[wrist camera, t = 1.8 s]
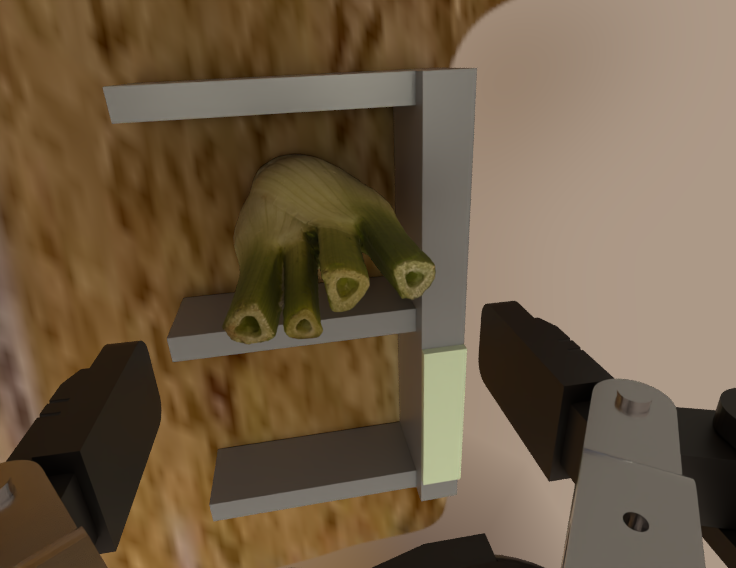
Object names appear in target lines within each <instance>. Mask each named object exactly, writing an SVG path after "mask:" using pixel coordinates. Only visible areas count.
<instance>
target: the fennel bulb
mask: <svg viewBox="0 0 736 568" xmlns="http://www.w3.org/2000/svg"><path fill="white" fill-rule="evenodd" d="M234 248H235V251H236V255H237V258H238V262H239V265H240V277H239V280H238V284H237V287H236V291H235V294H234V297H233V300H232V302H231V305H230V308H229V311H228V313H227V315H226V318H225V320H224V323H223V326H222V328H223V329H224V330H225V331H226V333H227V335H228V336H229V337H230V339H231V340H233V341H236V342H240V343H244V344H248V345H250V344H251V343H252V344H253V343H262V342H265V341H269V340H271V339H273V338H274V337H275V336H276V333H277V329H278V324H279V319H280V315H281V312H282V305H283V304H284V309H283V317H284V321H283V327H284V332H285V333H286V335H288V336H289V337H290V338H295V339H309V338H317V337H319V336H320V335H321V334H322V332H323V327H322V325H321V318H320V309H319V297H318V296H319V294H318V289H319V288H318V276H317V274H318V269H320V271H321V277H322V280H323V281H324V283H325V289H326V293H327V297H328V302H329V307H330V308H331V310H332V311H334V312H343V311H348V310H350V309H352V308H353V307H354V306H355V305H356V304H357V303H358V302H359V301H360V300H361V298H362V297H363V296H364V295H365V293H366V291H367V290H368V288H369V286H370V280H369V276H368V271H367V269H366V265H365V264H364V260H363V255H362V252H363V253H365V254H367V255H368V256H369V257H370V258H371V260H372V261H373V262H374V263H375V265H376V266H377V268H378V269H379V270H380V272H381V273H382V275H383V276H384V277H385V278H386V279H387V280H388V282H389V283H390V284H391V285H392V286H393V287H394V289H395V290H396V291H397V293H398V294H399V296H400V297H401V298H402V299H404V298H408V299H411V300H414V299H416V298H418V297H420V296H422V295H423V293H424V292H425V290H427V289H428V288H429V287H430V286H431V284H432V282H433V280H434V279H435V274H436V269H435V264H434V263H433V262H432V260H431V259H430V257H428V256H427V254H425V253H424V252H423V251H422V250H421V249H420V248H419V247H418V246H417V245H416V243H415V242H414V241H413V240H412V239H411V238H410V237H409V236H408V235H407V234H406V232H405V230H404V229H403V227H402V226H401V224H400V223H399V221H398V219H397V217H396V215H395V213H394V210H393V209H392V207H391V205H390V204H389V203H388V202H387V201H386V200H385V199H384V198H383V197H382V196H381V195H379V194H378V193H377V192H376V191H374V190H373V189H372V188H370V187H368V186H366V185H365V184H362V183H361V182H360V181H359V180H357V179H356V178H354V177H353V176H351V175H350V174H348V173H347V172H345V171H344V170H342V169H340V168H338V167H336V166H334V165H333V164H330V163H328V162H326V161H324V160H322V159H319V158H316V157H312V156H306V155H302V154H291V155H285V156H280V157H277V158H275V159H273V160H271V161H270V162H268V163H266V164H265V165H263V166H262V167H261V168H260V169H259V170H258V172H257V174H256V175H255V177H254V179H253V183H252V187H251V191H250V194H249V196H248V198H247V200H246V201H245V203H244V204H243V207H242V209H241V211H240V214H239V217H238V220H237V223H236V226H235V231H234Z"/></svg>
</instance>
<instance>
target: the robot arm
mask: <svg viewBox="0 0 736 568" xmlns="http://www.w3.org/2000/svg"><path fill="white" fill-rule="evenodd" d="M479 369H480V374H481V377H482V380H483V382H484V383H485V385H486V387H487V388H488V390H489V391H490V393H491V394H492V396H493V397H494V399H495V400H496V402H497V403H498V405H499V406H500V408H501V409H502V411H503V412H504V414H505V415H506V417H507V418H508V420H509V422H510V423H511V424H512V426H513V428H514V429H515V431H516V432H517V433H518V435H519V437H520V438H521V440H522V441H523V443H524V444H525V446H526V447H527V449H528V450H529V452H530V453H531V455H532V456H533V458H534V459H535V461H536V462H537V464H538V465H539V467H540V468H541V470H542V471H543V473H544V474H545V476H546V477H547V479H548V481H556V480H562V479H568V478H571V479H572V481H573V482H574V483H575V489H574V493H573V499H572V505H571V511H570V517H569V523H568V529H567V535H566V540H565V546H564V552H563V559H562V564H561V568H706V567H705V558H704V550H703V542H702V537H703V538H704V540H705V541H706V542H707V543H708V544H709V546H710V547H711V548H712V549H713V550H714V551H715V553H716V554H717V555H718V556H719V557H720V559H721V560H722V561H723V562H724V563H725V565H726V566H727V567H728V568H736V388H733V389H729V390H726V391H724V392H723V393H722V394H721V396H720V400H719V402H718V406H717V409H716V410H704V409H692V408H679V407H676V406H675V405H674V403H673V402H672V400H671V399H670V398H669V397H668V396H667V395H665V394H664V393H662V392H661V391H659V390H658V389H656V388H654V387H652V386H649V385H647V384H644V383H641V382H637V381H634V380H628V379H614V378H613V377H612V376H611V375H610V374H609V373H608V372H607V371H606V370H604V369H603V368H602V367H601V366H600V365H599V364H598V363H597V362H596V361H595V360H593V359H592V358H591V357H590V356H589V355H588V354H587V353H586V352H585V351H583V350H581V349H580V347H579V346H578V345H577V344H576V343H575V342H574V341H570V338H569V337H568V336H567V335H566V334H565V333H564V332H563V331H561V330H560V329H559V328H558V327H557V326H555V325H553V324H551V323H548V322H547V321H545V320H542V319H540V318H534V317H533V316H532V315H530V314H529V313H528V312H527V311H526V310H525V309H524V308H523V307H522V306H521V305H520V304H519V303H518V302H516V301H508V302H499V303H491V304H485V305H484V307H483V309H482V315H481V329H480V344H479ZM49 401H50V403H49V404H47V405H46V406H45V407H44V409H43V410H42V412H41V413H40V418H37V419H36V420H35V422H34V423H33V424H32V426H31V427H30V429H29V430H28V431H27V433H26V434H25V436H24V437H23V438H22V440H21V441H20V443H19V444H18V445H17V447H16V448H15V450H14V451H13V452H12V454H11V455H10V457H9V458H8V459H7V461H6V462H4V463H0V568H108V567H107V566H106V564H105V562H104V561H103V559H102V557H101V556H100V554H102V553H109V552H115V551H116V549H117V547H118V544H119V541H120V538H121V535H122V532H123V529H124V526H125V524H126V521H127V518H128V515H129V512H130V509H131V506H132V503H133V500H134V498H135V495H136V492H137V489H138V486H139V483H140V480H141V477H142V475H143V472H144V469H145V466H146V463H147V460H148V457H149V454H150V451H151V449H152V446H153V443H154V440H155V437H156V434H157V431H158V428H159V425H160V421H161V400H160V395H159V391H158V388H157V384H156V380H155V376H154V372H153V368H152V364H151V360H150V356H149V352H148V349H147V346H146V344H145V343H144V342H143V341H134V342H124V343H115V344H107V345H105V346H104V347H103V349H102V350H101V352H100V353H99V355H98V356H97V358H96V359H95V361H94V362H93V364H92V365H91V367H90V368H87V369H81V370H79V371H78V372H77V373H75V374H74V375H73V376H71V377H70V378H69V379H67V380H66V381H65V382H63V383H62V384H61V385H60V386H59V388H58V389H57V391H56V392H55V393H54V395H53V396H52V398H51V399H50V400H49ZM373 568H544V567H542V566H539V565H537V564H534V563H532V562H528V561H525V560H522V559H518V558H514V557H509V556H503V555H494V553H493V551H492V548H491V546H490V544H489V542H488V539H487V537H486V535H485V534H478V535H473V536H467V537H461V538H455V539H450V540H444V541H438V542H433V543H427V544H423V545H421V546H419V547H416V548H414V549H412V550H410V551H408V552H405V553H403V554H401V555H399V556H397V557H395V558H392V559H390V560H388V561H386V562H383V563H381V564H379V565H377V566H375V567H373Z"/></svg>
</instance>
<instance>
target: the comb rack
mask: <svg viewBox="0 0 736 568" xmlns="http://www.w3.org/2000/svg"><path fill="white" fill-rule="evenodd" d="M476 76H477V68H422V69H402V70H383V71H363V72H343V73H324V74H304V75H284V76H265V77H245V78H226V79H206V80H186V81H167V82H147V83H131V84H123V85H114V86H106V87H103V91H104V95H105V99H106V103H107V106H108V110H109V114H110V118H111V122H112V124H115V123H131V122H147V121H164V120H180V119H196V118H213V117H229V116H245V115H261V114H278V113H294V112H310V111H327V110H343V109H359V108H376V107H392V106H393V112H394V162H395V211H396V217H397V219H398V221H399V223H400V224H401V226H402V227H403V229H404V230H405V232H406V234H407V235H408V236H409V237H410V238H411V239H412V240H413V241H414V242H415V243H416V245H417V246H418V247H419V248H420V249H421V250H422V251H423V252H424V253H425V254H427V256H428V257H430V259H431V260H432V262H433V263H434V264H435V269H436V274H435V279H434V280H433V282H432V284H431V286H430V287H429V288H428V289H427V290H425V292H424V293H423V295H422V296H420V297H418V298H416V299H414V300H411V299H408V298H404V299H402V298H401V297H400V296H399V294H398V293H397V291H396V290H395V289H394V287H393V286H392V285H391V284H390V283H389V282H388V280H387V279H386V278H385V277H384V276H380V277H371V278H369V280H370V286H369V288H368V290H367V291H366V293H365V295H364V296H363V297H362V298H361V300H360V301H359V302H358V303H357V304H356V305H355V306H354V307H353V308H352V309H350V310H348V311H343V312H334V311H332V310H331V308H330V307H329V302H328V297H327V293H326V289H325V283H318V288H319V289H318V294H319V296H318V297H319V309H320V318H321V325H322V327H323V332H322V334H321V335H320V336H319V337H317V338H309V339H295V338H290V337H289V336H288V335H286V333H285V332H284V327H283V321H284V317H283V309H284V304H283V305H282V312H281V315H280V319H279V324H278V329H277V333H276V336H275V337H274V338H273V339H271V340H269V341H265V342H262V343H253V344H252V343H251V344H250V345H248V344H244V343H240V342H236V341H233V340H231V339H230V337H229V336H228V335H227V333H226V331H225V330H224V329H223V328H222V326H223V323H224V320H225V318H226V315H227V313H228V311H229V308H230V305H231V302H232V300H233V297H234V294H235V292H234V293H225V294H216V295H207V296H198V297H189V298H183V300H182V303H181V305H180V308H179V310H178V313H177V315H176V317H175V320H174V322H173V325H172V327H171V330H170V332H169V335H168V337H167V341H168V345H169V349H170V353H171V357H172V361H173V362H177V361H185V360H193V359H201V358H209V357H217V356H225V355H232V354H240V353H248V352H256V351H264V350H272V349H280V348H288V347H296V346H304V345H311V344H319V343H327V342H335V341H343V340H351V339H359V338H367V337H375V336H383V335H390V334H398V359H399V408H400V422H395V423H389V424H382V425H376V426H369V427H362V428H356V429H349V430H343V431H336V432H330V433H323V434H316V435H310V436H303V437H297V438H290V439H283V440H277V441H270V442H264V443H257V444H251V445H244V446H237V447H231V448H224V449H218V453H217V460H216V466H215V472H214V479H213V485H212V492H211V498H210V504H209V505H210V509H211V513H212V517H213V521H218V520H224V519H230V518H235V517H241V516H247V515H253V514H259V513H265V512H270V511H276V510H282V509H288V508H294V507H300V506H305V505H311V504H317V503H323V502H329V501H335V500H340V499H346V498H352V497H358V496H364V495H370V494H376V493H381V492H387V491H393V490H399V489H405V488H411V487H417V490H418V493H419V496H420V499H421V501H425V500H430V499H436V498H442V497H447V496H453V495H457V480H458V479H460V478H461V458H462V438H463V419H464V397H465V378H466V359H467V358H466V357H467V348H466V347H465V345H464V333H465V310H466V290H467V269H468V268H467V267H468V246H469V226H470V225H469V224H470V205H471V183H472V163H473V141H474V120H475V98H476V78H477V77H476Z"/></svg>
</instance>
